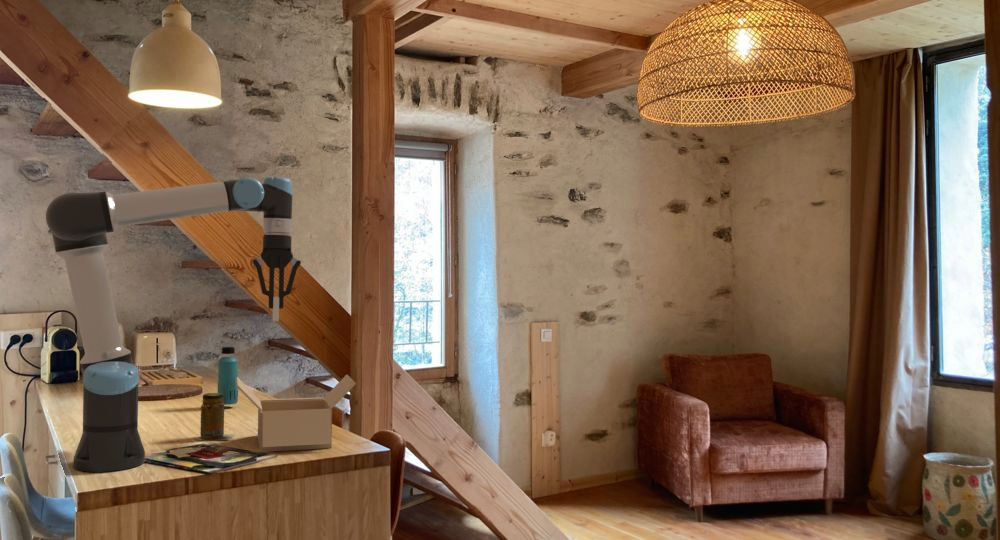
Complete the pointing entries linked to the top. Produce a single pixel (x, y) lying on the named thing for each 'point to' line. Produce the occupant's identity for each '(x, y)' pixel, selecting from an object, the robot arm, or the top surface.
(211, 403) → the condiment
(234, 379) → the beverage bottle
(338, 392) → the right flap
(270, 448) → the carton
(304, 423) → the near flap
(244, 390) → the left flap
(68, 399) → the top surface
